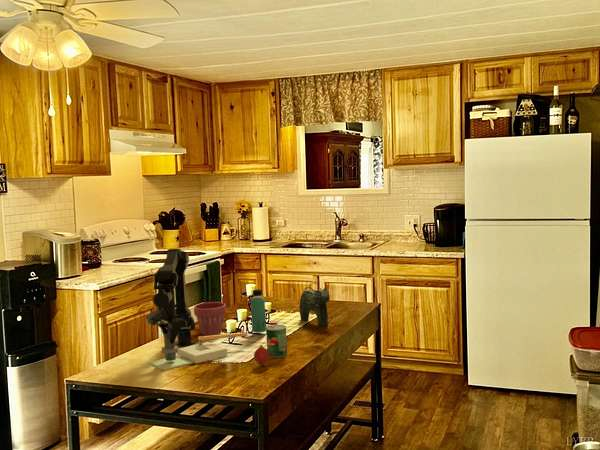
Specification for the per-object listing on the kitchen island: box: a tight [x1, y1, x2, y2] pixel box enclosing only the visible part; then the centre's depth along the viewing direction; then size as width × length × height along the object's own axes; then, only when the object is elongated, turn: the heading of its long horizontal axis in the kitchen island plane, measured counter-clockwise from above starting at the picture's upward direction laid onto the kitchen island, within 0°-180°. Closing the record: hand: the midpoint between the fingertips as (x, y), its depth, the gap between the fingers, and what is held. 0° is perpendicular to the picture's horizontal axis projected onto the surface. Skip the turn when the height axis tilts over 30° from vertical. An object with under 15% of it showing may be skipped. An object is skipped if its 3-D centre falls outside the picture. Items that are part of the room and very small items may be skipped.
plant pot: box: [193, 301, 227, 336], centre depth 296 cm, size 14×14×13 cm
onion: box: [253, 344, 271, 367], centre depth 243 cm, size 6×6×8 cm
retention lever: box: [197, 331, 248, 341], centre depth 268 cm, size 20×2×1 cm, turn 103°
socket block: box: [177, 340, 228, 364], centre depth 259 cm, size 14×14×5 cm
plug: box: [161, 332, 179, 361], centre depth 250 cm, size 6×6×10 cm
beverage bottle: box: [250, 288, 267, 334], centre depth 290 cm, size 6×7×20 cm
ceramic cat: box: [299, 281, 331, 327], centre depth 308 cm, size 20×6×20 cm, turn 34°
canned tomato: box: [265, 324, 288, 358], centre depth 257 cm, size 8×8×11 cm
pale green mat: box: [148, 355, 193, 371], centre depth 251 cm, size 12×12×1 cm
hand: (169, 342), depth 250 cm, fingers closed on plug, 4 cm apart
